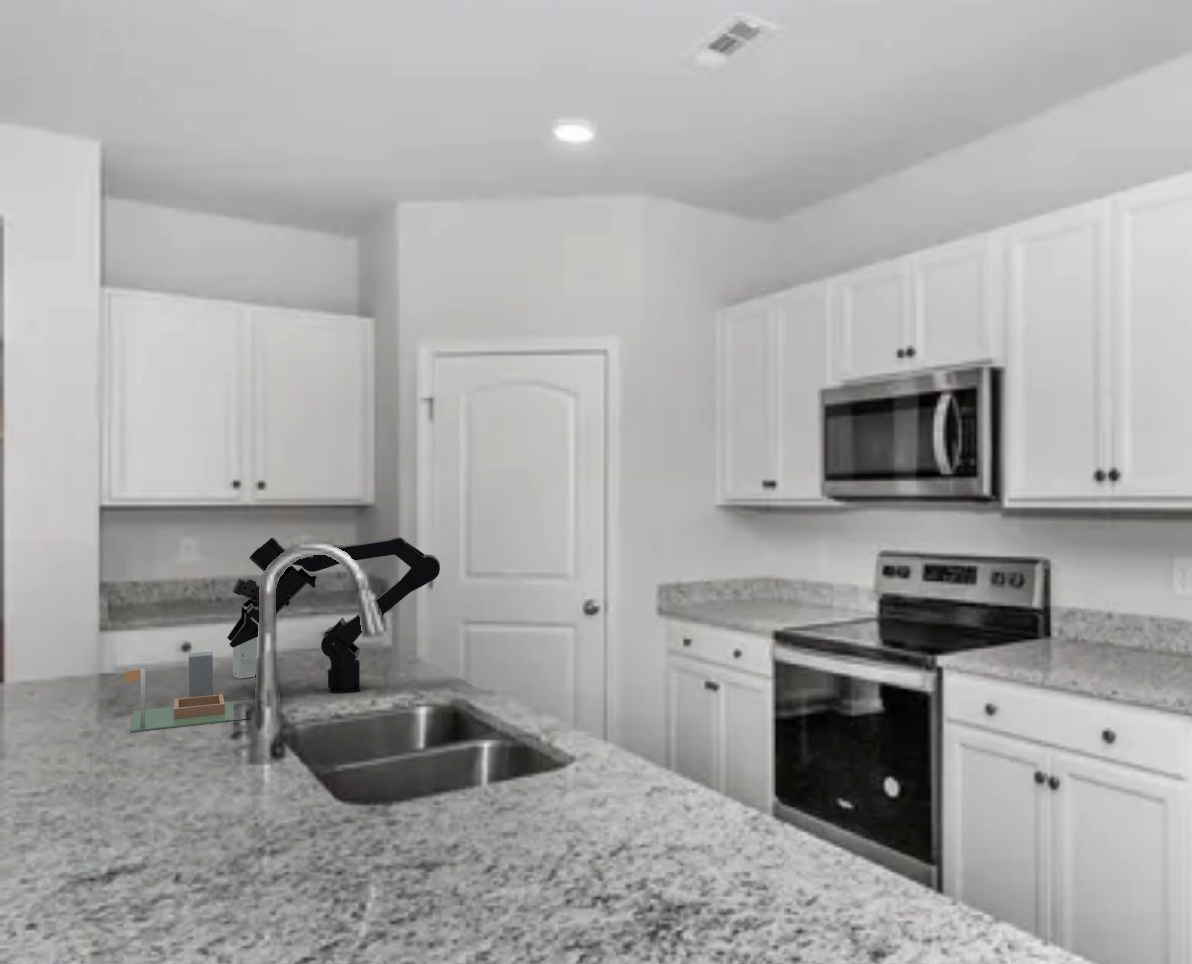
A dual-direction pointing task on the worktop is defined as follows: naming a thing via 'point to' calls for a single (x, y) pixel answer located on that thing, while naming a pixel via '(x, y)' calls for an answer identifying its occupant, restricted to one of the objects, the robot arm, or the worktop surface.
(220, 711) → the green base plate
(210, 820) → the worktop surface
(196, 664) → the grey block
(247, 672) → the skincare box
